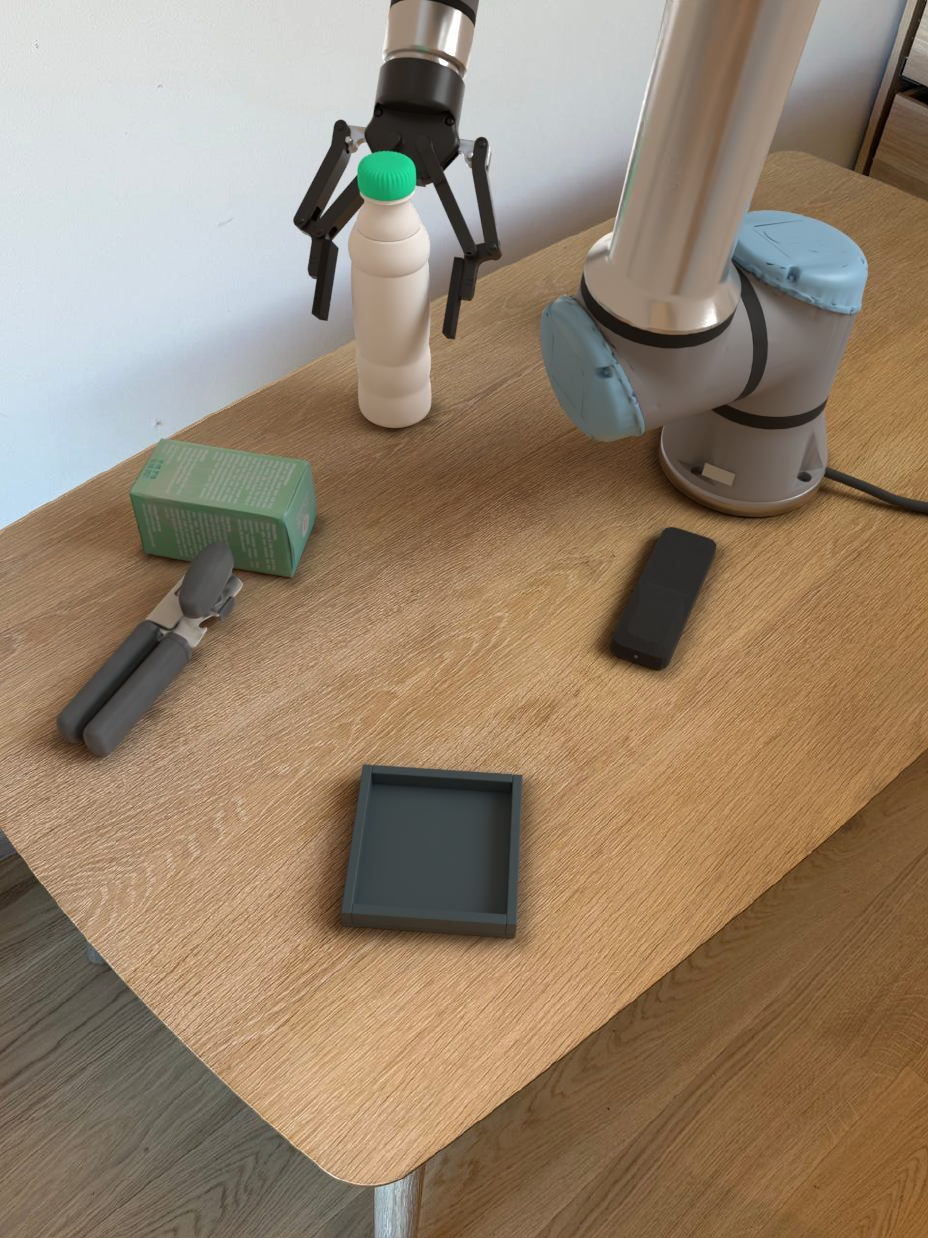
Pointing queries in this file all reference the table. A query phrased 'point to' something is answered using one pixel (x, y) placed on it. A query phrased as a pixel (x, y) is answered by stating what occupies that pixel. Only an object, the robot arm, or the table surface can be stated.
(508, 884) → the tray
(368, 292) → the water bottle
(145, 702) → the can opener
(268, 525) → the box
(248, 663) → the table surface
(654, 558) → the remote control
